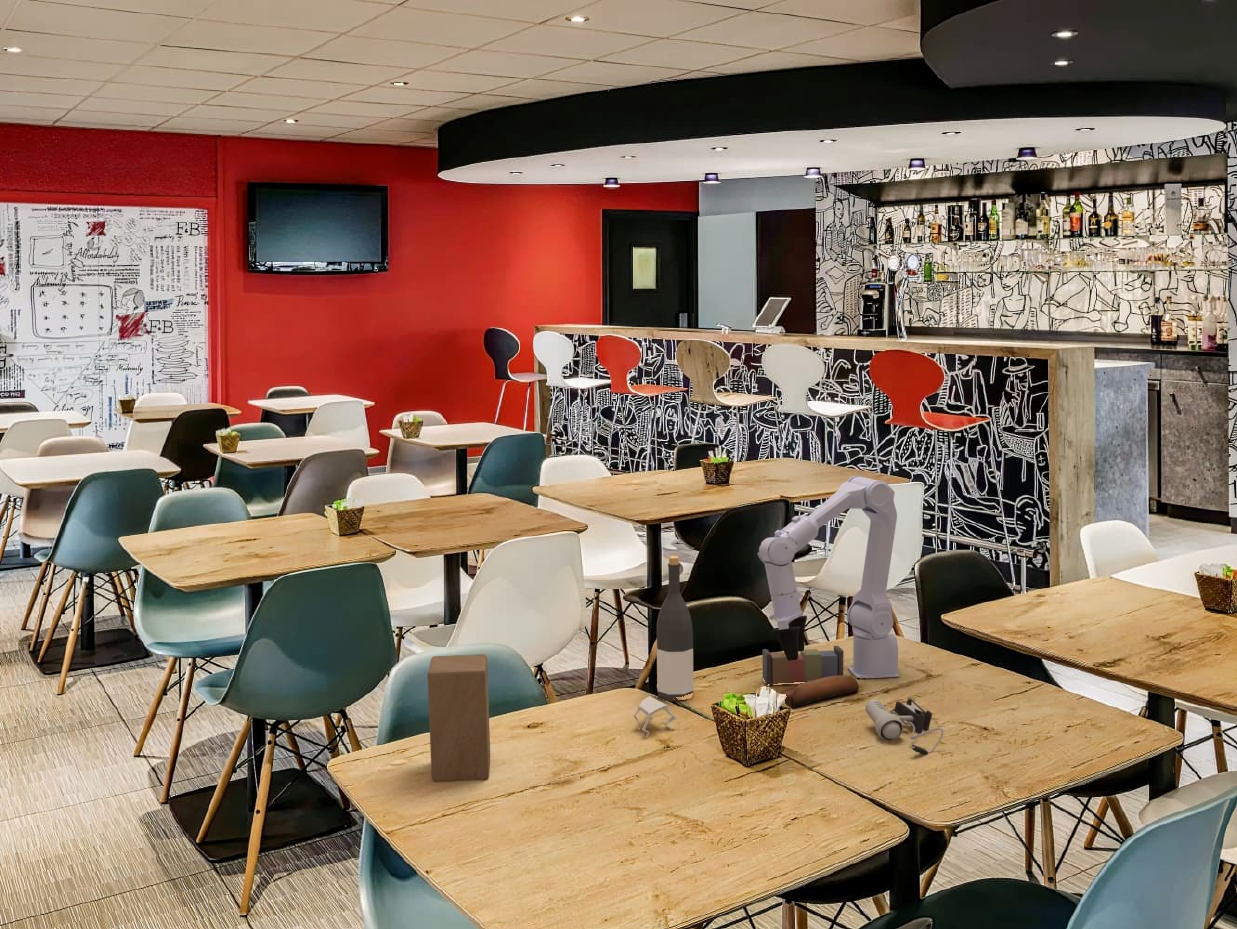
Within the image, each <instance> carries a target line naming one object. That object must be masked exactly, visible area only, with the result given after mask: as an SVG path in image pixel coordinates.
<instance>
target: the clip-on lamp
mask: <svg viewBox="0 0 1237 929" xmlns="http://www.w3.org/2000/svg"><path fill="white" fill-rule="evenodd" d="M864 708H865V712H866V714H867V715H868V716H869V718H870V719H871V721H872V722H873V723H874V729H875V732H876V734H877V736H878V737H879V738H880V739H882V740H883V741H889V742H890V741H894V740H897V739H898V738H899V737H900V736H901V735H902V733H903V731H904V725H905V726H908V725H911V726H912V728H913V731H912V734H911V735H910V739H911V740H916V739H917V738H919V737H922V736H925V735H927V734H929V733H932V732H934V731H935V732H936V731H940V736H939V738H938V740H937V742H936V743H935V744H934V746H933V747H932V748H931V749H929V750H927V749H926V748H923V747H921V746H917V745H915V744H912V745H908V748H910V749H911V750H913V751H915V753H919V754H921V755H924V756H925V755H926V756H927V755H928V754H929V753H931V752H933V751H934V750H935V749H936V747H937V746H938V745H939V744H940V743H941V740H942V738H943V736H944V729H943V728H941V727H933V728H931V729H930V725H931V721H932V717H933V713H932V712H931V711H930V710H926V711H925V710H924V709H923V708H922V707H921V706H920V705H918V704H917V703H916V702H915V700H914V699H912V698H907V700H906V703H904V702H903V703H902V702H901V701H896V703H895V705H894V708H892V709H890V710H888V708H886V706H885V705H884V704H883V703H882V701H881V700H879V699H877V698H873V699H870V700H869V701H867V702H866V704H865V707H864ZM903 724H904V725H903ZM915 733H916V734H915ZM914 734H915V735H914Z"/></svg>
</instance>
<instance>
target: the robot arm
mask: <svg viewBox="0 0 1237 929" xmlns="http://www.w3.org/2000/svg"><path fill="white" fill-rule="evenodd" d="M894 498H895V490H894V489H893V488H892V486H890V485H889V483H887V482H886V481H884V480H881V479H879V480H878V479H877V480H876V479H873V478H868V477H864V476H862V475H859V474H858V475H853V476H851V477H850V478H848V479H847V481H844V482H843V483H841V484H840V486H839V487H838V490H836V492H834V494H832V495H831V496H830V497H828V499H827V500H825V501H824V502H823V503H822V504H820V505H819V507H817V508H816V509H815V510H814V511H812V512H811V513H810V514H809V515H805V514H800V515H799V516H798V515H795V516H793V517H792V518H791V522H789V523H788V524H787V525H786V526H785V527H782V528H781V529H776V531H774V536H773V537H771V536H770V537H766V538H764V540H762V541H761V543H760V545H759V548H758V552H757V556H758V558H759V560H760V561H761V562H762V563H763V564H764V567H765V572H766V579H767V583H768V589H769V594H770V598H771V603H772V604H771V605H772V609H773V614H770V615H769V616H768V618H769V620H775V622H776V623H777V627H774V628H772V634H773V635H774V637H775V639H777V641H778V642H779V644H780V646H781V648H782V652H784V653H785V655H786V658H787V660H788V661H791V660H797V659H798V654H799V653H800V651H804V650H805V629H806V623H807V620H808V616H807V615H803V614H804V613H803V610H802V608H801V604H800V603H801V602H800V598H799V594H798V589H797V588H798V587H797V582H796V576H795V573H794V569H793V568H794V567H793V563H792V560H794V557H795V554H797V552H799V551H800V550H802V548H804V547H805V546H806V545H808V544H809V543H810V542H812V541H813V540H814V539H816V538H817V537H818V535H819V530H820V528H822V527H823V526H824V525H825V524H827V523H829V522H830V521H832V520H833V519H834V518H836V517H837V516H839V515H841V514H842V513H843V512H845V511H847V510H848V509H857V510H858V509H861V510H862V511H863V513H864V514H865V515H866V516H867V517H868V518H869V520H870V524H869V530H868V536H867V537H868V538H867V542H866V543H867V544H866V551H865V559H864V566H863V572H862V578H861V579H862V580H861V585H860V589H859V591H857V592H855V594H854V595H853V598H852V601H851V604H850V606H849V608H848V610H847V612H846V613H847V614H846V618H847V619H846V620H847V621H848V623H849V625H850V626H852V629H851V630H852V632H853V638H852V642H853V643H852V644H853V646H852V665H849V666H846V669H847V668H848V669H849V670H848V669H847V670H848V671H849V672H850V671H851V672H850V673H851V674H852V675H853V677H854V678H855V679H857V678H866V679H881V678H883V679H885V678H898V677H900V674H899V667H898V666H899V645H898V639H897V637H896V635H895V633H891V631H892V629H893V626H894V618H893V614H892V610H893V604H892V602H891V600H890V599H889V597H888V595H887V588H888V581H889V575H890V574H889V573H890V569H891V568H890V567H891V562H892V561H891V560H892V554H893V553H892V552H893V548H894V541H895V539H894V538H895V534H896V532H895V531H896V526H897V520H898V512H897V508H896V504H895V501H894V500H895V499H894Z"/></svg>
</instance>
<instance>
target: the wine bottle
mask: <svg viewBox="0 0 1237 929" xmlns="http://www.w3.org/2000/svg"><path fill="white" fill-rule="evenodd" d="M679 559H680V558H679V556H675V555H671V556H669V557H668V563H667V567H668V592H667V595H666V597H665V599H664V601H663V602H662V605H661V606H660V609H659V612H658V616H657V620H656V676H657V678H656V682H657V684H656V685H657V697H658V699H660V700H663V701H667V702H677V701H676V700H678V699H677V698H676V697H682V696H683V697H684V696H685V695H688V694H691V693H693V694H694V628H693V627H694V626H693V622H692V618H691V614H690V611H689V608H688V605H687V604H686V601H685V600H684V598H683V597H682V594H681V590H680V589H681V584H680V582H681V580H680V578H681V577H680V576H681V575H680V572H681V570H680V568H681V564H680V562H679ZM673 698H674V699H675V700H674V699H673Z"/></svg>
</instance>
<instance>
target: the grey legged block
mask: <svg viewBox="0 0 1237 929" xmlns="http://www.w3.org/2000/svg"><path fill="white" fill-rule="evenodd" d="M669 706H670V705H668V704H666V703H664V702H662V701H660V700H657V699H656V698H654V697H652V696H651V695H648V696H647V697H645V698H644V699H642V700H641V703H640V704H639V705H638V706H637V710H636V711H635V712H634V714H633V718H634V719H635V721H636V722H637V723H638V725H639V727H638V730H639V731H640V730H641V731H643V732H646V734H645V737H646V738H648V737H649V734H650V732H649V730H646V729H647V727H648V723H649V721H650V718H651V719H653V720H655V717H653V716H652V715H654V714H655V713H657V712H660V711H662V710H664V711H665V712H666V713H667V714H668V715H670V716H671V717H670V718H668V719H667V720H666V721H664V723H662V725H664V726H665V727H667V728H668V729H670V730H672V729H673V728H672V727H670V726H668V725H667V724H670V723H672V722H673V721H675V720H677V719H678V716H677V715H675V713H673V712H672V711H671V710H670V709H669ZM640 711H641V712H642V713H643V714H645V715H647V718H646V720H645V723H644V725H643V726H642V725H641V723H640V721H639V720H638V718H637V715H638V714H639V712H640ZM641 727H642V729H641Z"/></svg>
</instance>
